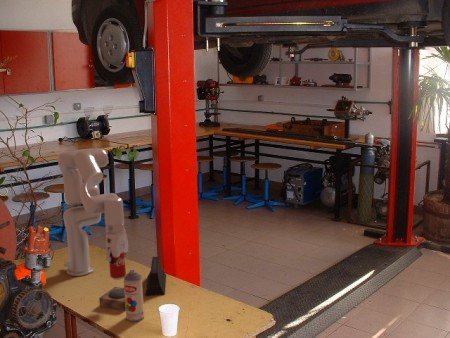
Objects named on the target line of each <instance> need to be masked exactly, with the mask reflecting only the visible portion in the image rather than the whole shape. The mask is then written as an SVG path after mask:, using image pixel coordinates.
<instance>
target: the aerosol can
mask: <svg viewBox="0 0 450 338" xmlns="http://www.w3.org/2000/svg"><path fill="white" fill-rule="evenodd" d="M142 280H143V278H142V275H141V274H139V272H137V271H135V268H130V269H129V271H128V273H126V275H125V277H124V278H123V288H124V291H125V305H126V311H125V315H126V320H127V322H130V323H137V322H141V321H143V320H144V319H145V312H144V311H145V310H144V307H145V306H144V295H143V294H144V293H143V291H144V290H143V281H142Z"/></svg>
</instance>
